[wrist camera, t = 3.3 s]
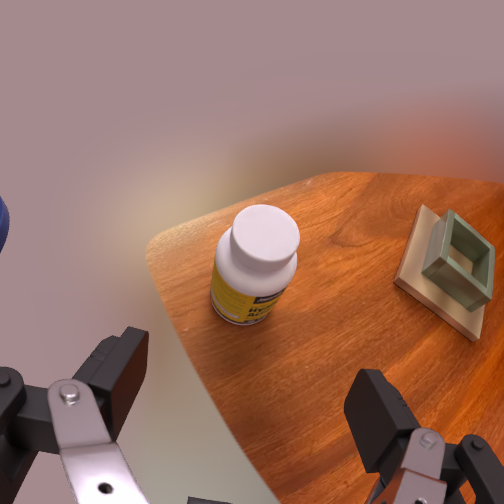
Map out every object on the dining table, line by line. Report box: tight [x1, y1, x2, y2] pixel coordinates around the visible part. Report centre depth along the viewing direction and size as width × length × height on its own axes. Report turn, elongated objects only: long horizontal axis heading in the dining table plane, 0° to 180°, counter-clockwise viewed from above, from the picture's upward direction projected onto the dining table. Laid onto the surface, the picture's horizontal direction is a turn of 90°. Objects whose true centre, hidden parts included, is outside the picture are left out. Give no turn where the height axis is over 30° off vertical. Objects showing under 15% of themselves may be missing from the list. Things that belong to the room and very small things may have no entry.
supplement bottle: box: [210, 205, 300, 325], centre depth 22 cm, size 5×5×10 cm
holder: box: [393, 204, 495, 342], centre depth 29 cm, size 13×13×5 cm
